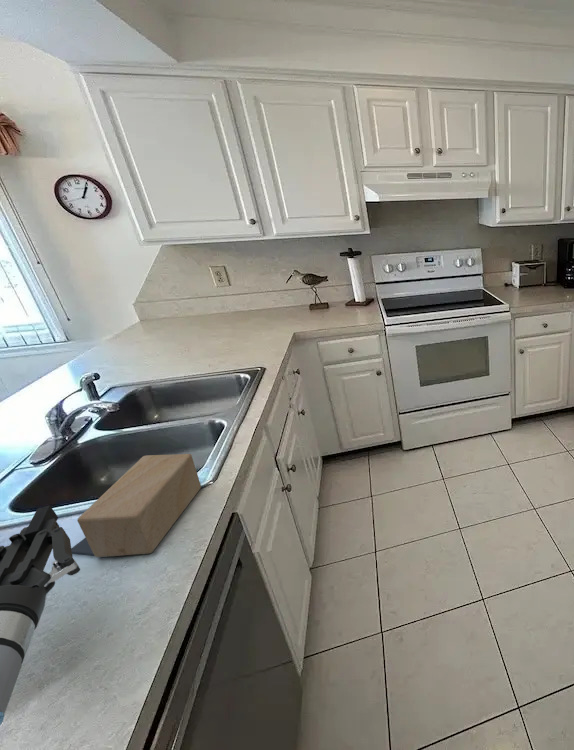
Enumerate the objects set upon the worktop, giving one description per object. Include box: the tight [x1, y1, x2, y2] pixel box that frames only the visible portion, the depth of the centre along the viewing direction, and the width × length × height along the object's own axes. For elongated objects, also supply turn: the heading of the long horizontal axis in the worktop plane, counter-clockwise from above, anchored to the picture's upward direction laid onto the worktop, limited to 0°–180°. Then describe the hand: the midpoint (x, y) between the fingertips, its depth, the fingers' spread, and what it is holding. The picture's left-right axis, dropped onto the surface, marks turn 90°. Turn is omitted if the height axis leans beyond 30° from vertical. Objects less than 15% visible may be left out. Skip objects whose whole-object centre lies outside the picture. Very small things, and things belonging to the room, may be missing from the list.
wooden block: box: [77, 453, 202, 558], centre depth 87 cm, size 10×10×20 cm
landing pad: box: [71, 537, 109, 558], centre depth 85 cm, size 9×8×1 cm
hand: (47, 513), depth 66 cm, fingers closed
